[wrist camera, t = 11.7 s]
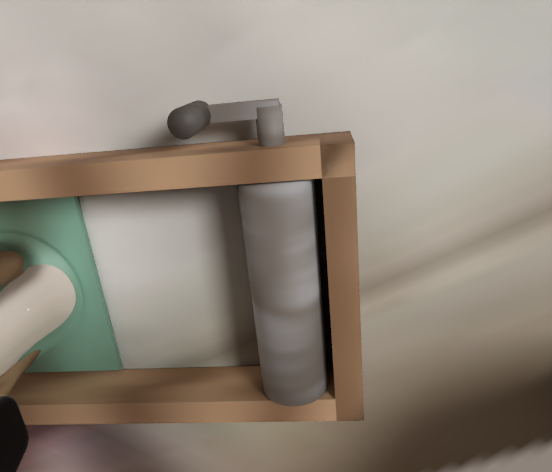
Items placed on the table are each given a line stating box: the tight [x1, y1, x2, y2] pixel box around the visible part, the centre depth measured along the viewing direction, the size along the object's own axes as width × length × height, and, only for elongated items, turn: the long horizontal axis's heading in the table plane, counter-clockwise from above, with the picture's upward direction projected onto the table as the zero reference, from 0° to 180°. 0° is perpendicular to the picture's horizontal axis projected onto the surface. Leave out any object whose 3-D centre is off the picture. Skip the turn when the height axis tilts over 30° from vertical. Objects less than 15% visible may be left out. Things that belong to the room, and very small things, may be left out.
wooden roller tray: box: [0, 98, 364, 425], centre depth 20 cm, size 20×14×4 cm
